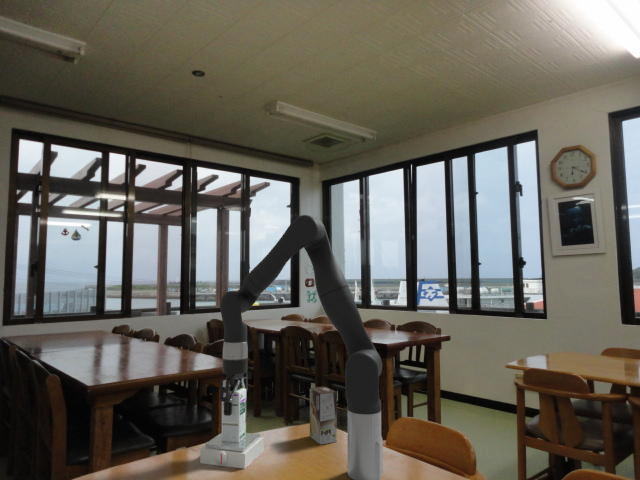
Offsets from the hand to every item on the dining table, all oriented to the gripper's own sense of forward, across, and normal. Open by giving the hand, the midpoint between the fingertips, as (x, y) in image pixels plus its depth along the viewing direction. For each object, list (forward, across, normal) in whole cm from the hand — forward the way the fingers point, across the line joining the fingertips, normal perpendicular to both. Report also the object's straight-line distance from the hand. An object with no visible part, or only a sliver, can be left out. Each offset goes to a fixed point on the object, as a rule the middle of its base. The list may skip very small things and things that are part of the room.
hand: (234, 411), depth 136 cm
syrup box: (+8, 0, 0) cm, 8 cm away
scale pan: (+9, 0, 0) cm, 9 cm away
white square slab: (+13, 0, 0) cm, 13 cm away
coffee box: (+14, +22, -22) cm, 34 cm away
